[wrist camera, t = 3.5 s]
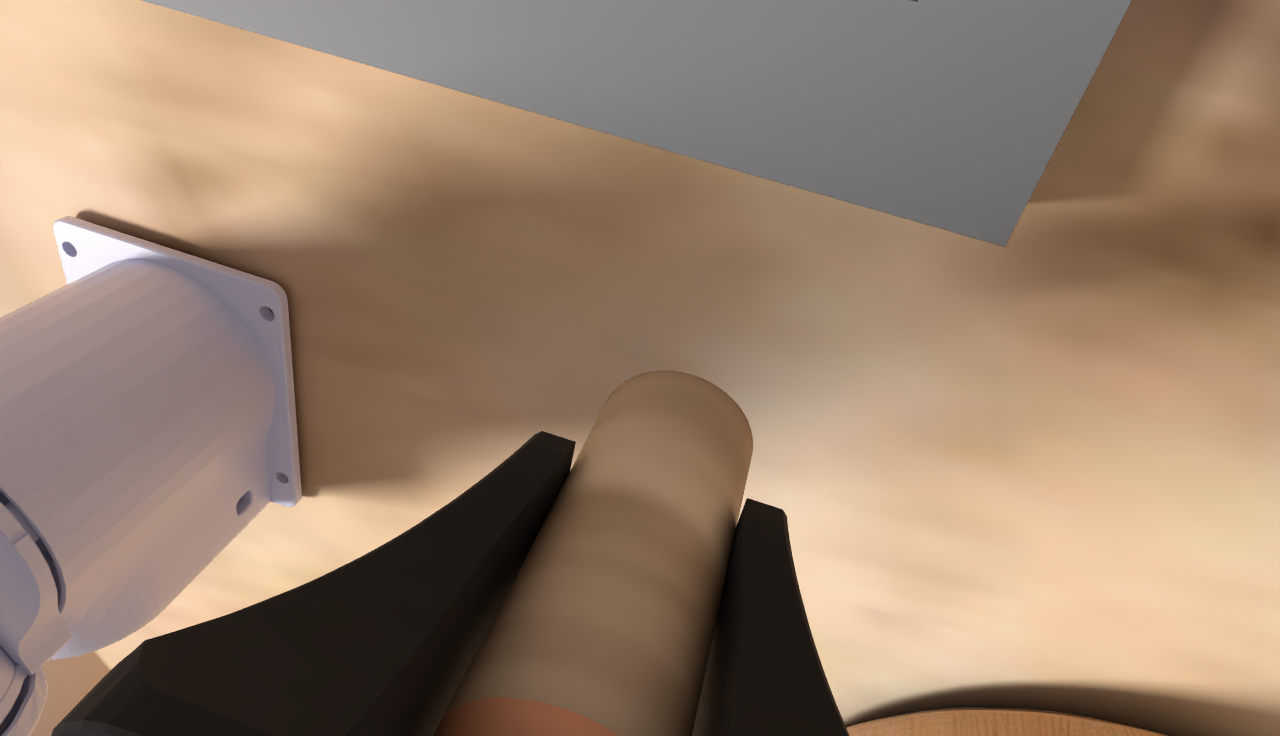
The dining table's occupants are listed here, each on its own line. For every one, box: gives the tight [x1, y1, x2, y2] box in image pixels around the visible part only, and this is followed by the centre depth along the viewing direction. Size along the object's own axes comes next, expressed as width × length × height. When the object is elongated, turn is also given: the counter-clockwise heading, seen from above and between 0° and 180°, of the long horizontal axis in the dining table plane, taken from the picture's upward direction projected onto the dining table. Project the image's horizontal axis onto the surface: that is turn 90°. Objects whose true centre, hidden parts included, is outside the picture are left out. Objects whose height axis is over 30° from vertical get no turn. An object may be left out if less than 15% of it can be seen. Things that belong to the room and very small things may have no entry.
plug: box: [433, 371, 753, 736], centre depth 12 cm, size 3×3×8 cm
